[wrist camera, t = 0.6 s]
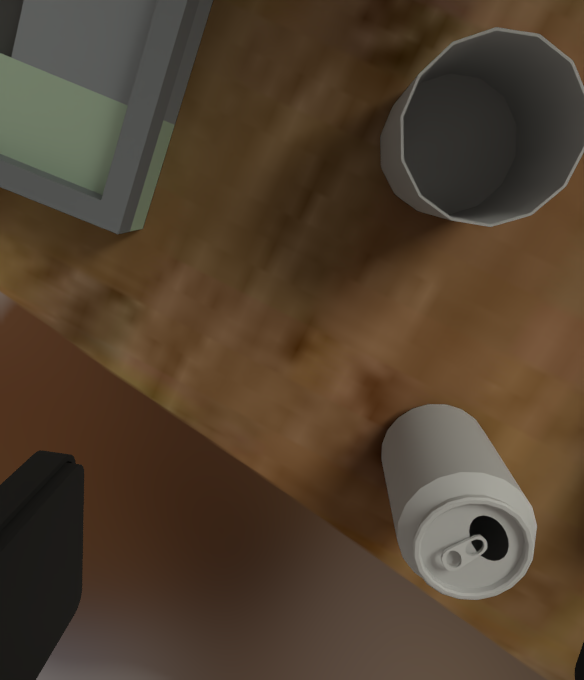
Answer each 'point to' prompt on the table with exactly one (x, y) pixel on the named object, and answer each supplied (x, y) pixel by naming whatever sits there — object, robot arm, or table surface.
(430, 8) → the table surface
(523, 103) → the cup
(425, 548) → the can
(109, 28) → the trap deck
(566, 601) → the table surface
